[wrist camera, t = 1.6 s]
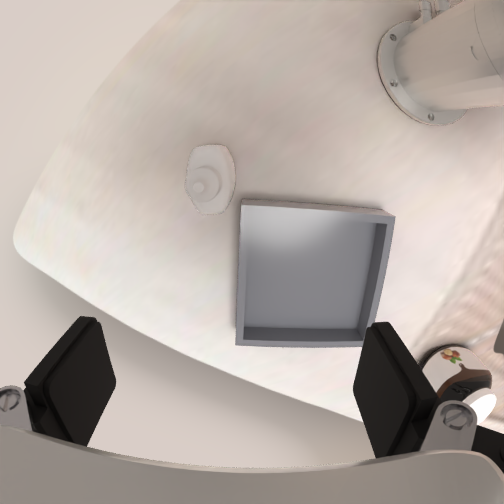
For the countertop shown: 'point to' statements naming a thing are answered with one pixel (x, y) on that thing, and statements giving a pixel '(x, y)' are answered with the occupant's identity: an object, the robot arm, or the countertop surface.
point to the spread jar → (461, 379)
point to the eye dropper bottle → (210, 178)
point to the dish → (309, 273)
